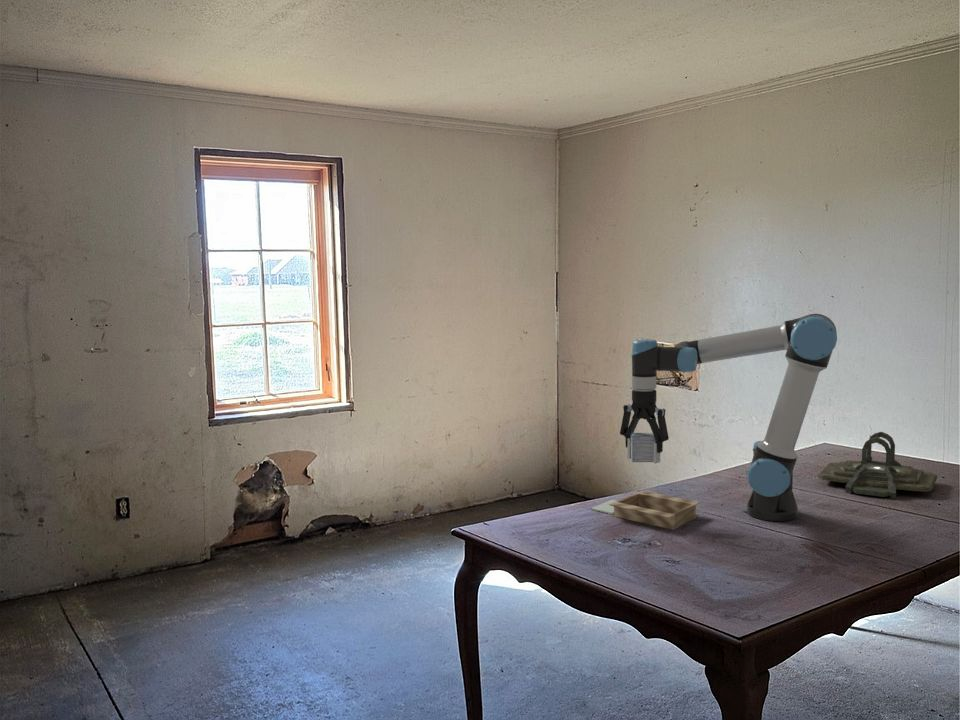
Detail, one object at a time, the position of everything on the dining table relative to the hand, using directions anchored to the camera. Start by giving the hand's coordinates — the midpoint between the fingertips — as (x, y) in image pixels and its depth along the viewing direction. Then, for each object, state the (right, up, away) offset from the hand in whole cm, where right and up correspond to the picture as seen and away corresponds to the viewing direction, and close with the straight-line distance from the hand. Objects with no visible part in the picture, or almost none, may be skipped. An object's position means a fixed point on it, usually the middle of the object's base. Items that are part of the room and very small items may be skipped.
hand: (643, 460), depth 256 cm
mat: (-8, -17, +11) cm, 22 cm away
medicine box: (0, -1, 0) cm, 1 cm away
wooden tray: (+3, -18, 0) cm, 18 cm away
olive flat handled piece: (+86, -12, +27) cm, 91 cm away
